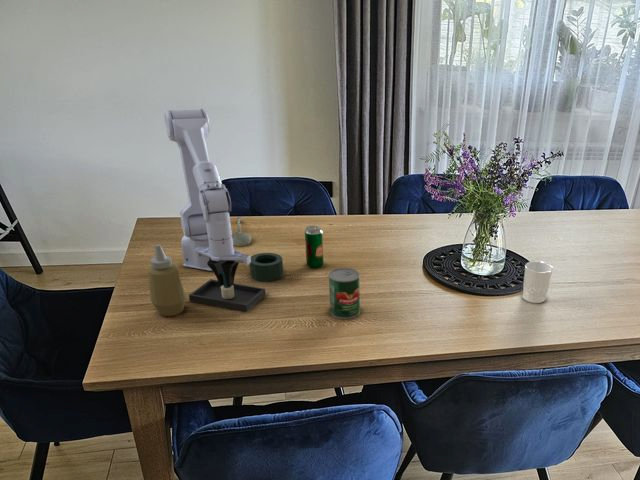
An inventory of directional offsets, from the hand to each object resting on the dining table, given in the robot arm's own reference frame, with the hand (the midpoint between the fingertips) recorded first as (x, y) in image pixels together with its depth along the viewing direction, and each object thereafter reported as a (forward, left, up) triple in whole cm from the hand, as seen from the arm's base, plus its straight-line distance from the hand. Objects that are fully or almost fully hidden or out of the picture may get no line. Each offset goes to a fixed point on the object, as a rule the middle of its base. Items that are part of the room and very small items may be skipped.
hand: (226, 284), depth 161 cm
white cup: (+79, +31, -4) cm, 85 cm away
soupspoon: (-20, +42, -4) cm, 46 cm away
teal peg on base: (0, 0, -3) cm, 3 cm away
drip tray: (0, 0, -4) cm, 4 cm away
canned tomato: (+31, +4, -4) cm, 32 cm away
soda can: (+12, +28, -4) cm, 31 cm away
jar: (+2, +17, -4) cm, 17 cm away
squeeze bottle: (-10, -11, -4) cm, 15 cm away
